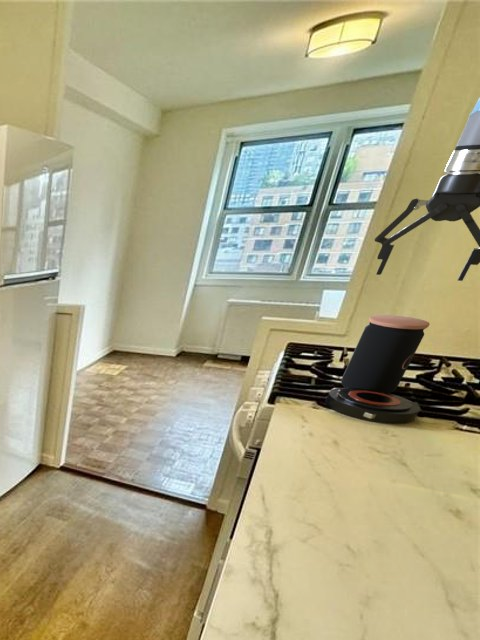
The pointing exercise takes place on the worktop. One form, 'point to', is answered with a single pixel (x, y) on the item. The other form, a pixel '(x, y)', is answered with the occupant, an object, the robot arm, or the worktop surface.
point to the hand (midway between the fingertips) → (417, 277)
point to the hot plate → (372, 405)
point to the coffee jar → (384, 352)
